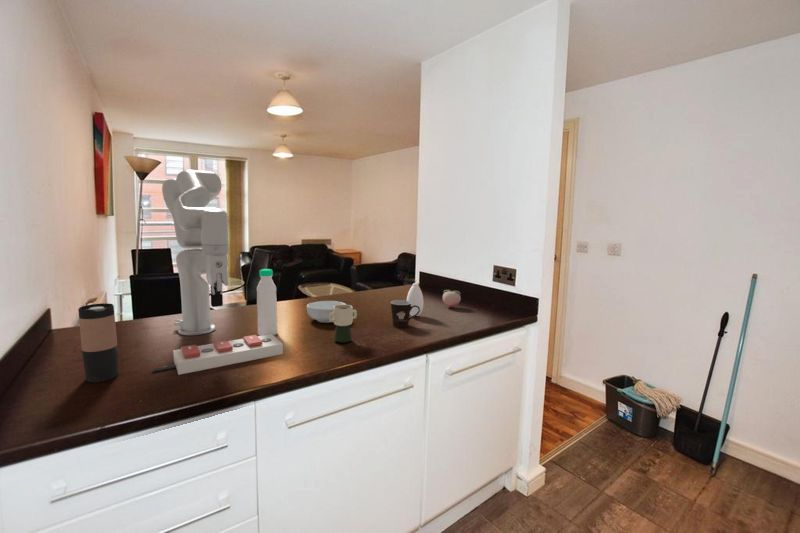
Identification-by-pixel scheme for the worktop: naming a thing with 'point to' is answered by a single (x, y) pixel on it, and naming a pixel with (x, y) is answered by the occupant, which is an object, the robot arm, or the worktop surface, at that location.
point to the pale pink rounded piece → (451, 298)
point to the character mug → (342, 321)
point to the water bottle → (266, 303)
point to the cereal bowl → (322, 310)
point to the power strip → (224, 355)
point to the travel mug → (99, 341)
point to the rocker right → (252, 340)
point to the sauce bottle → (415, 299)
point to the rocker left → (190, 351)
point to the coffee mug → (401, 313)
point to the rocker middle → (223, 346)
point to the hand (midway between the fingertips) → (216, 305)
